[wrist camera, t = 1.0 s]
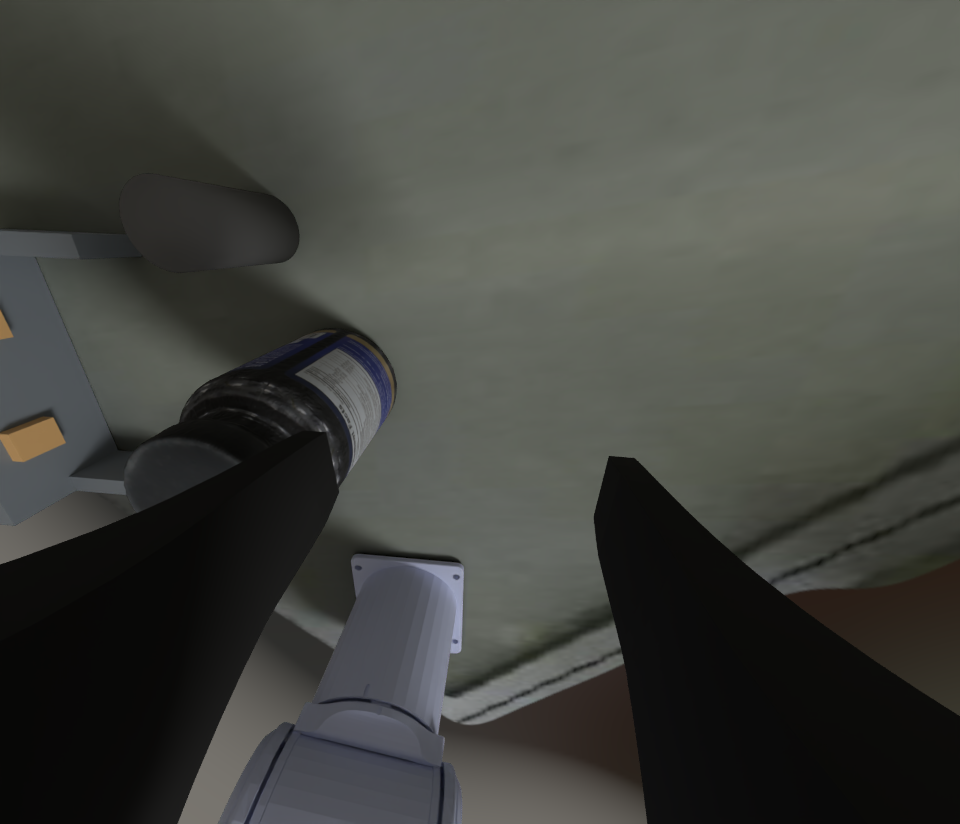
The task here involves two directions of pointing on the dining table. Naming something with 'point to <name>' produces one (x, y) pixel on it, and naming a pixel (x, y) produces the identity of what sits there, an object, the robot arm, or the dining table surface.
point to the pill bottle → (270, 413)
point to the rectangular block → (48, 382)
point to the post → (205, 224)
